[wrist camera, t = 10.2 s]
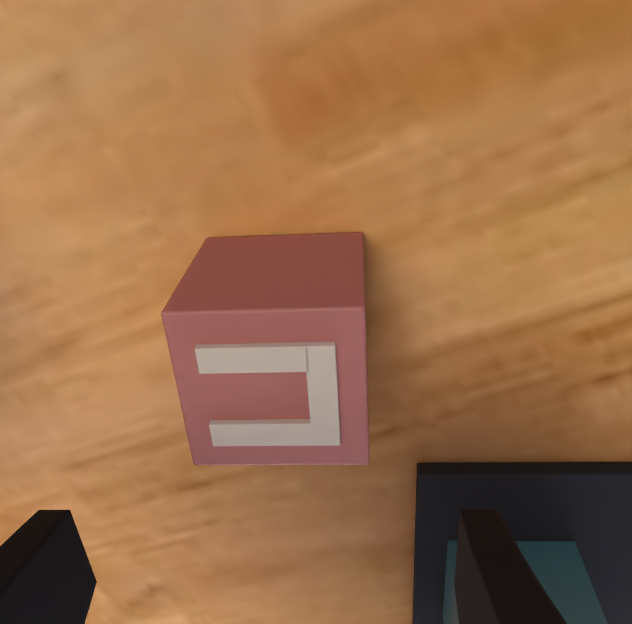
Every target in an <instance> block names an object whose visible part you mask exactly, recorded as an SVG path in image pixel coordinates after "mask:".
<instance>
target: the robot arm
mask: <svg viewBox="0 0 632 624" xmlns="http://www.w3.org/2000/svg"><path fill="white" fill-rule="evenodd" d="M96 582H97V581H96V579H95V576H94V573H93V571H92V568H91V565H90V563H89V560H88V557H87V555H86V552H85V549H84V547H83V544H82V541H81V539H80V536H79V533H78V530H77V528H76V525H75V522H74V520H73V517H72V514H71V512H70V510H38V511H37V512H36V513H35V514H34V515H33V516H32V517H31V518H30V519H29V520H28V521H26V522H25V523H24V524H23V525H22V526H21V527H20V528H19V529H18V530H17V531H16V532H15V533H14V534H13V535H12V536H11V537H10V538H9V539H8V540H7V541H5V542H4V543H3V544H2V545H1V546H0V624H84V623H85V620H86V617H87V614H88V610H89V607H90V603H91V600H92V596H93V593H94V589H95V586H96ZM454 588H455V596H456V604H457V612H458V620H459V624H567V623H566V621H565V620H564V618H563V617H562V615H561V614H560V612H559V611H558V609H557V608H556V606H555V605H554V603H553V602H552V600H551V599H550V597H549V596H548V594H547V593H546V591H545V590H544V588H543V587H542V585H541V583H540V582H539V580H538V579H537V577H536V575H535V574H534V572H533V571H532V569H531V567H530V566H529V564H528V562H527V561H526V559H525V557H524V556H523V554H522V552H521V551H520V549H519V547H518V545H517V544H516V542H515V540H514V538H513V537H512V535H511V533H510V531H509V529H508V527H507V526H506V524H505V522H504V520H503V518H502V516H501V514H500V513H499V512H498V511H496V510H495V509H460V514H459V527H458V540H457V553H456V566H455V580H454Z"/></svg>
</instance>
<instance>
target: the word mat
mask: <svg viewBox="0 0 632 624" xmlns="http://www.w3.org/2000/svg"><path fill="white" fill-rule="evenodd" d="M460 509H495V510H496V511H498V512H499V513H500V514H501V516H502V518H503V520H504V522H505V524H506V526H507V527H508V529H509V531H510V533H511V535H512V537H513V538H514V540H515V541H575V543H576V546H577V548H578V551H579V553H580V556H581V558H582V561H583V563H584V566H585V568H586V571H587V573H588V576H589V578H590V581H591V583H592V586H593V588H594V591H595V593H596V596H597V598H598V601H599V603H600V606H601V608H602V611H603V614H604V616H605V619H606V621H607V624H632V462H599V463H418V464H417V482H416V518H415V553H414V589H413V624H443V603H444V588H445V573H446V558H447V543H448V541H449V540H458V527H459V514H460Z"/></svg>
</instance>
